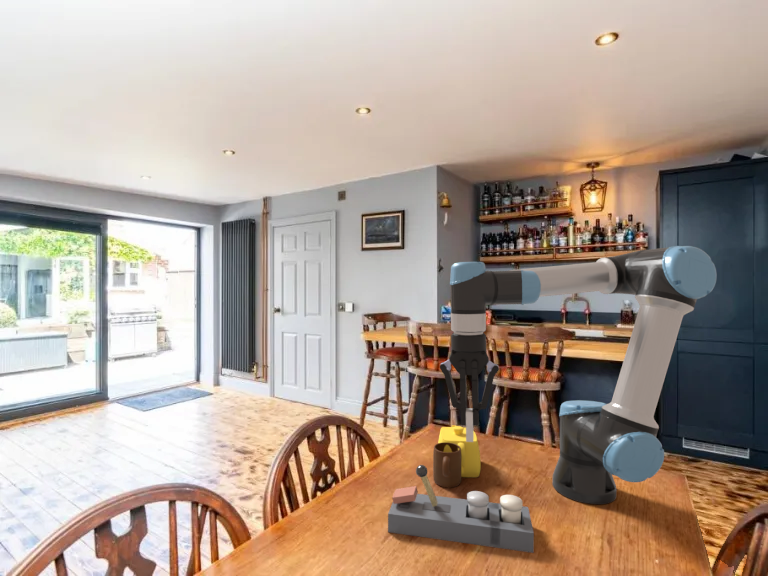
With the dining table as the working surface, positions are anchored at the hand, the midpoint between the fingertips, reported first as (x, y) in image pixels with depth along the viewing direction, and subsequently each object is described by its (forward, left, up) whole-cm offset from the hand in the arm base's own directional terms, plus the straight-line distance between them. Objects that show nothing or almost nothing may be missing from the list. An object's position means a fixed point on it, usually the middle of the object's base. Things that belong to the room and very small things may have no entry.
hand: (469, 439), depth 91 cm
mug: (+6, -19, -20) cm, 28 cm away
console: (+2, 0, -20) cm, 20 cm away
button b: (-2, 0, -17) cm, 17 cm away
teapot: (+4, -32, -20) cm, 38 cm away
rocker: (+14, 0, -14) cm, 20 cm away
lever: (+7, 0, -16) cm, 17 cm away
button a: (-9, 0, -17) cm, 19 cm away
